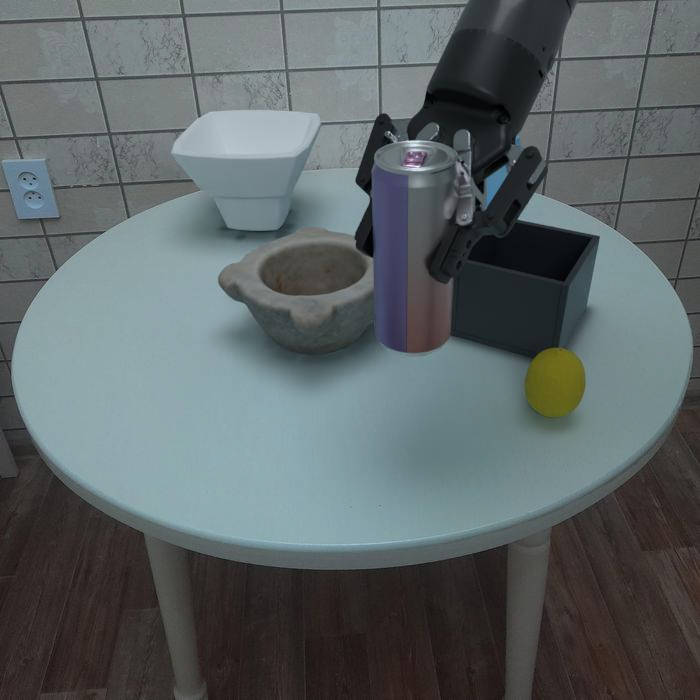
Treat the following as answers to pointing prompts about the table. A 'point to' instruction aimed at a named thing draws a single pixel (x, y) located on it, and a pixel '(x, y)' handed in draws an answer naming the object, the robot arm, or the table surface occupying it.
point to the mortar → (306, 289)
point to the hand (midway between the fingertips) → (400, 265)
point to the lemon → (555, 382)
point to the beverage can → (412, 244)
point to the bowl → (248, 162)
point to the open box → (524, 288)
